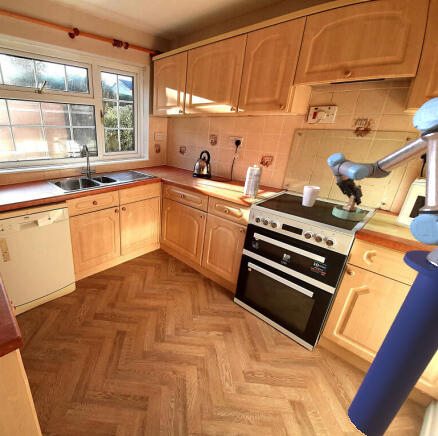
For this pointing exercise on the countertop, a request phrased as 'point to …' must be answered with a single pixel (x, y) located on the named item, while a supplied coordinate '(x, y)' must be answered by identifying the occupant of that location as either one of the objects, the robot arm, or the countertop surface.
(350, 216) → the bowl
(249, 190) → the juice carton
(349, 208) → the dish brush
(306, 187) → the foam cup
